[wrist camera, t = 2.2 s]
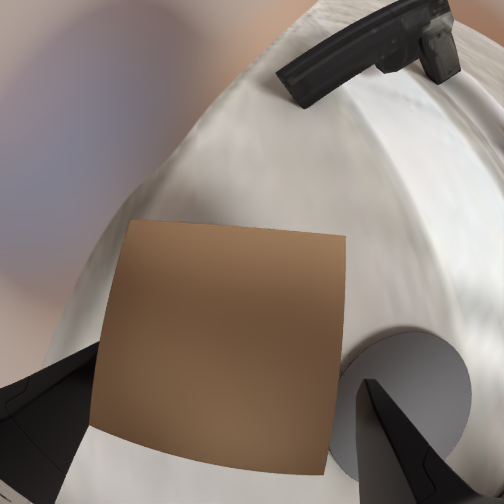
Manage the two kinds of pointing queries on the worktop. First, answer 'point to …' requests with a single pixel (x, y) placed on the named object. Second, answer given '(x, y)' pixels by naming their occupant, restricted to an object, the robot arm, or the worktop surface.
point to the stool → (224, 345)
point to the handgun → (377, 49)
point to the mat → (406, 392)
